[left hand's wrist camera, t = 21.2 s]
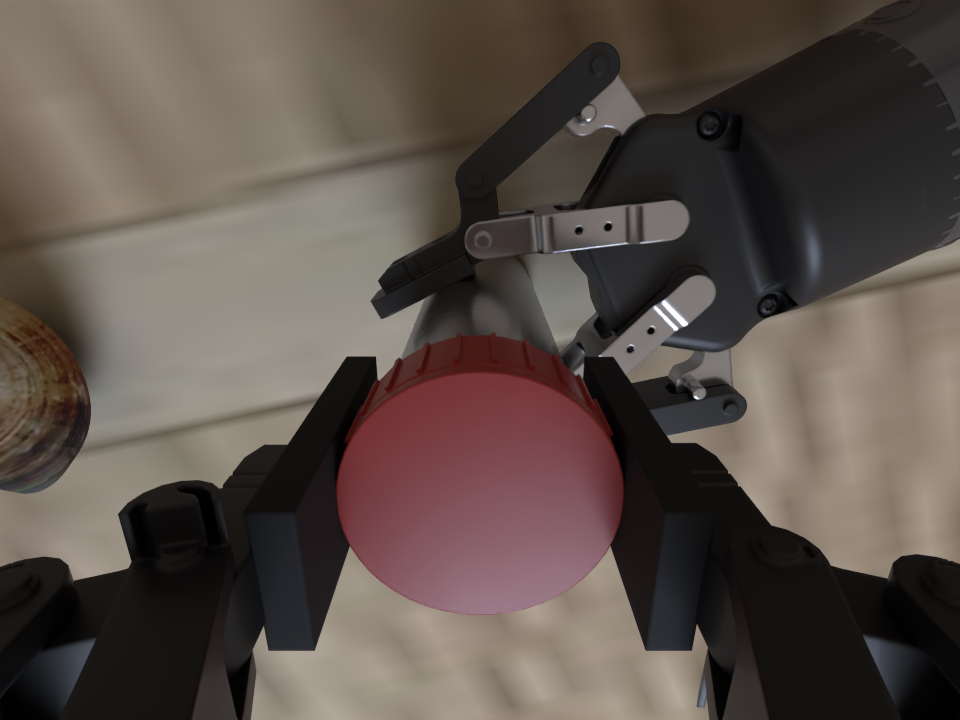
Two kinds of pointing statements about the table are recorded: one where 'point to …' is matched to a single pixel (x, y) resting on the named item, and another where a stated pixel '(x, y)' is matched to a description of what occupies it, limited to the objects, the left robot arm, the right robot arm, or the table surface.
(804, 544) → the left robot arm
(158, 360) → the table surface
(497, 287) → the jar
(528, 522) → the lid
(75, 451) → the seashell
